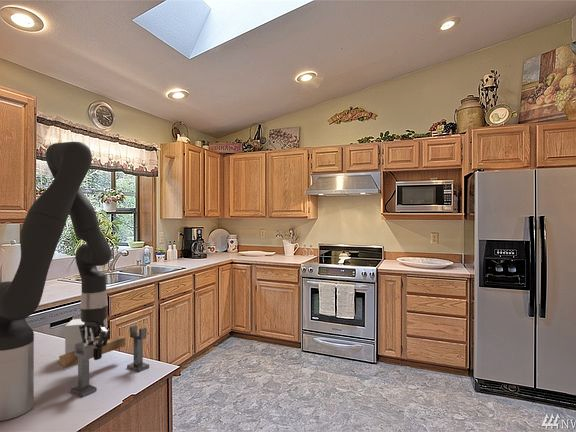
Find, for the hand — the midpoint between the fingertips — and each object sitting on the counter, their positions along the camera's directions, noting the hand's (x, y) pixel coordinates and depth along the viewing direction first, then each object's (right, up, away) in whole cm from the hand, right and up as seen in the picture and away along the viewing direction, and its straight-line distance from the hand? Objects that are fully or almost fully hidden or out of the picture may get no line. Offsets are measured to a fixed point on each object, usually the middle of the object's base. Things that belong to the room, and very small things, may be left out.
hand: (94, 357), depth 112 cm
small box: (-12, -5, +11) cm, 17 cm away
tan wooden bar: (0, +1, 0) cm, 1 cm away
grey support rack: (+9, -4, -5) cm, 11 cm away
